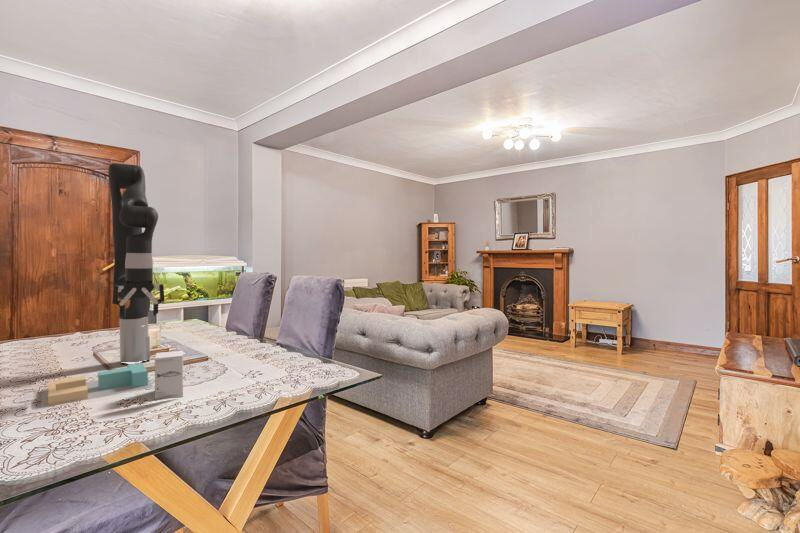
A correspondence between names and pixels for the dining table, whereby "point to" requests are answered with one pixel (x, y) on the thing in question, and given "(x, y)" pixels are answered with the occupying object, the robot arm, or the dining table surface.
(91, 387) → the slot board
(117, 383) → the tee block
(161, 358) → the supplement box
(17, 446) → the dining table surface
